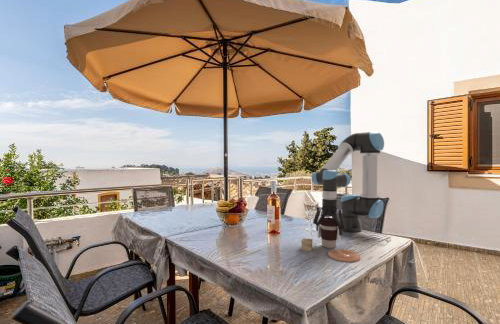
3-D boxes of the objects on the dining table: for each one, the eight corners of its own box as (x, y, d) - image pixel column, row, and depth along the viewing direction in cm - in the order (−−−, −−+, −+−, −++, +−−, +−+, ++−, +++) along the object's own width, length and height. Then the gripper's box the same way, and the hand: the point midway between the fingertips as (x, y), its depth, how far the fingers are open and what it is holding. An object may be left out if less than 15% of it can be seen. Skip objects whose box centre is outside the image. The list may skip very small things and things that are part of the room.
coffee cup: (325, 249, 144) (325, 221, 144) (316, 244, 154) (316, 217, 154) (342, 248, 147) (342, 220, 147) (331, 242, 156) (332, 216, 156)
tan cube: (302, 247, 149) (302, 237, 148) (312, 248, 147) (312, 238, 147) (301, 250, 144) (301, 240, 144) (311, 251, 142) (311, 241, 142)
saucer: (335, 249, 146) (335, 247, 146) (364, 255, 136) (364, 253, 136) (323, 256, 134) (323, 254, 134) (354, 264, 124) (354, 262, 124)
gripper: (307, 197, 154) (306, 236, 155) (348, 201, 140) (347, 245, 140) (313, 195, 160) (312, 233, 160) (353, 200, 146) (352, 241, 146)
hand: (328, 239), depth 150 cm, fingers open, 10 cm apart
